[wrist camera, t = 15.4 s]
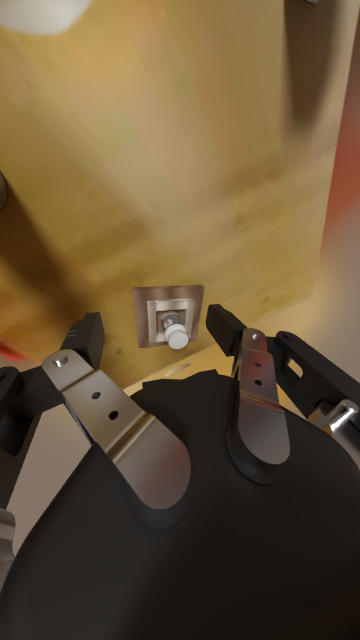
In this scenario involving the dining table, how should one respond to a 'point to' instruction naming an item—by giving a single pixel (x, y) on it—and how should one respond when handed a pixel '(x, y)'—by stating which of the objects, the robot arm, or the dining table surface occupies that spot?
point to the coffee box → (313, 1)
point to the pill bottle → (173, 330)
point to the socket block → (160, 301)
